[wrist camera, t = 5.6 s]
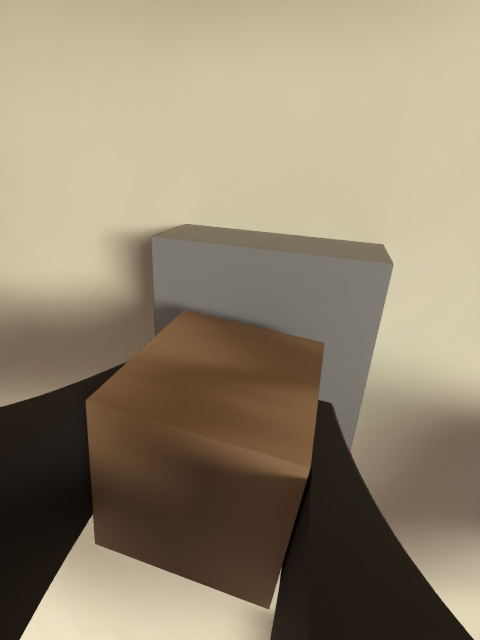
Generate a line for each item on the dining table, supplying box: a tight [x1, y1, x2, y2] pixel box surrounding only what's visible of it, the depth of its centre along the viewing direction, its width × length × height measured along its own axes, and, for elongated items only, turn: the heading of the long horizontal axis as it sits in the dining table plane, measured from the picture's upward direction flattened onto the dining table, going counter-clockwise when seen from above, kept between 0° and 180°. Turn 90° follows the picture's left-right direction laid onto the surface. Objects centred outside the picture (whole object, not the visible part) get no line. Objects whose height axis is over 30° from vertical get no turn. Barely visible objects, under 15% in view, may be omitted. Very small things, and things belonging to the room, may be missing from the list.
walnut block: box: [86, 310, 325, 609], centre depth 10 cm, size 4×4×5 cm
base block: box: [151, 224, 393, 451], centre depth 15 cm, size 8×8×4 cm
